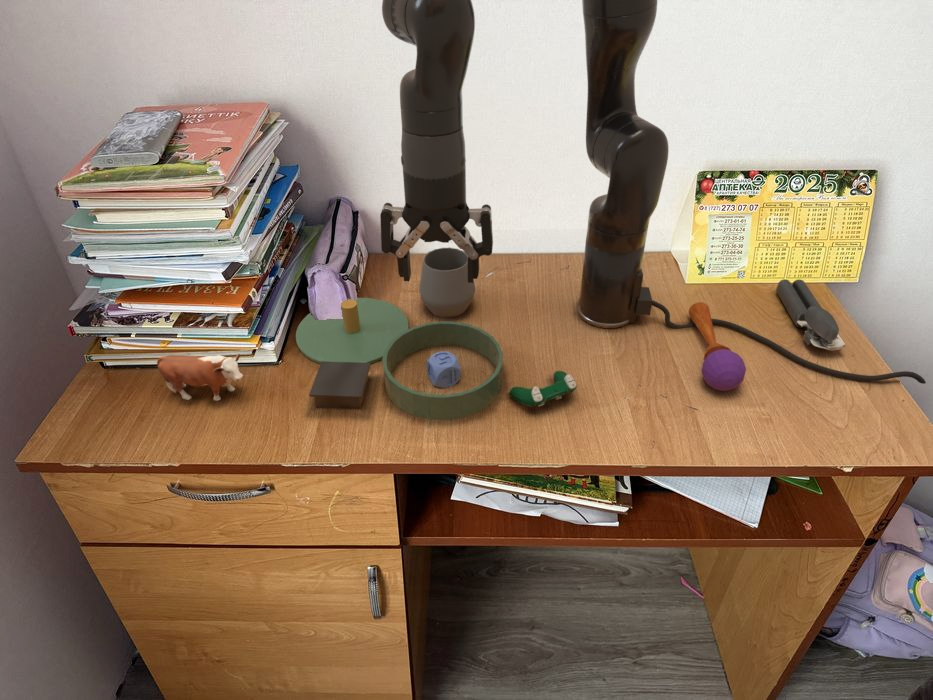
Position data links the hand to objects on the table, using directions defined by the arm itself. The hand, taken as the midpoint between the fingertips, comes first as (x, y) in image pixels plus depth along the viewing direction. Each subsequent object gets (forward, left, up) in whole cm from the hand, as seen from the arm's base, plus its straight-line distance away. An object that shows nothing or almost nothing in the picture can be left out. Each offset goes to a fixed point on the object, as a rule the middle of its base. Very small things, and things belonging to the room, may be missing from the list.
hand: (438, 278), depth 90 cm
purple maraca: (-41, -8, -18) cm, 46 cm away
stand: (+14, +4, -18) cm, 24 cm away
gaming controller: (-15, +3, -18) cm, 24 cm away
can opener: (-59, -17, -18) cm, 64 cm away
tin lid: (+16, -11, -18) cm, 26 cm away
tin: (0, 0, -18) cm, 18 cm away
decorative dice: (0, 0, -18) cm, 18 cm away
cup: (+1, -19, -18) cm, 27 cm away
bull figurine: (+34, +5, -18) cm, 39 cm away
